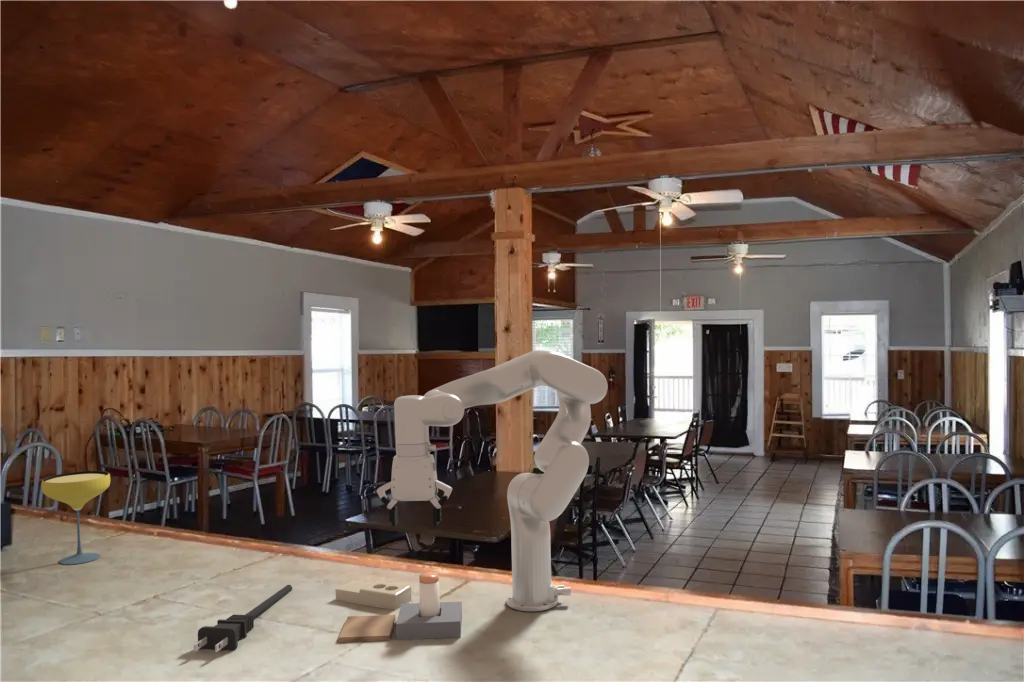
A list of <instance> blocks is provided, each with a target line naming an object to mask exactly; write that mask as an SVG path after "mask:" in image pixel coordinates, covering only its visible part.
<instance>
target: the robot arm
mask: <svg viewBox="0 0 1024 682" xmlns="http://www.w3.org/2000/svg"><path fill="white" fill-rule="evenodd" d="M540 386H543V387H549V388H551V389H554V390H555V391H556V393H557V397H558V398H557V399H558V402H559V403H558V404H559V407H558V412H557V414H556V417H555V419H554V421H553V422H552V424H551V426H550V428H549V429H548V431H547V432H546V434H545V435H544V437H543V439H542V440H541V442H540V443H539V445H538V446H537V448H536V450H535V452H534V457H533V459H534V464H535V466H536V467H537V468H538V470H540V471H541V472H543V474H542V475H538V474H536V473H532V472H522V473H519V474H517V475H516V476H514V477H513V478H512V480H510V483H509V484H508V487H507V491H506V492H507V493H506V499H507V506H508V511H509V519H510V531H511V532H510V534H511V538H510V539H511V578H512V585H511V587H512V592H511V593H509V594H508V595H507V597H506V604H507V606H508V607H509V608H511V609H514V610H517V611H520V612H521V611H522V612H542V611H546V610H550V609H553V608H554V607H556V606H557V604H558V603H559V596H566V597H567V596H571V595H572V594H571V593H572V592H571V590H572V589H571V586H569V587H568V586H567V587H566V586H565V585H564V584H562V585H561V584H559V585H555V584H554V583H553V580H552V560H551V557H552V556H551V553H552V552H551V550H552V549H551V527H550V522H551V521H554V520H555V519H557V518H559V516H560V515H562V514H563V512H564V511H565V510H566V508H568V505H569V504H570V502H571V500H572V499H573V498H574V495H575V493H577V490H578V489H579V487H580V485H581V484H582V482H583V481H584V479H585V477H586V476H587V472H588V469H589V465H590V457H589V454H588V450H587V449H586V448H585V446H583V445H582V442H583V441H584V439H585V437H586V435H587V434H588V431H589V429H590V426H591V421H592V412H591V411H592V410H591V405H594V404H597V403H599V402H601V401H602V400H603V399H604V398H605V397H606V395H607V393H608V388H609V386H608V381H607V379H606V376H605V375H604V374H603V373H602V372H601V371H600V370H598V369H597V368H594V367H592V366H590V365H587V364H585V363H583V362H580V361H578V360H576V359H574V358H571V357H570V356H568V355H567V356H566V355H565V354H562V353H560V352H557V351H554V350H540V349H539V350H538V349H537V350H531V351H529V352H527V353H524V354H522V355H519V356H517V357H515V358H512V359H510V360H508V361H505V362H502V363H499V364H498V365H496V366H494V367H491V368H488V369H486V370H481V371H478V372H476V373H473V374H471V375H467V376H464V377H461V378H457V379H455V380H451V381H449V382H447V383H444V384H442V385H440V386H438V387H435V388H433V389H431V390H428V391H427V392H426V393H425V394H424V395H416V394H414V395H412V394H411V395H401V396H398V397H397V398H395V400H394V406H393V408H394V410H393V411H394V429H395V430H394V431H395V432H394V434H395V435H394V436H395V453H396V454H395V455H394V457H393V458H392V459H393V460H392V466H391V478H390V479H391V481H389V482H387V483H385V484H383V485H382V486H380V487H378V488H377V489H376V494H377V495H378V497H379V499H380V501H381V502H382V503H383V504H384V505H385V506H386V509H388V511H389V512H388V514H389V522H390V523H391V527H392V528H393V527H396V526H397V525H398V524H399V511H398V506H397V504H398V502H418V501H419V502H423V501H424V502H428V501H429V502H430V503H431V505H433V506H434V508H432V511H433V512H432V515H433V526H434V527H437V526H438V525H439V524H440V522H442V518H443V517H442V507H443V505H444V504H445V503H446V502H447V501H448V499H449V497H450V495H451V493H452V491H453V487H452V486H450V485H448V484H446V483H444V482H443V481H440V480H438V474H437V473H438V472H437V467H436V461H435V457H434V454H431V452H434V451H435V452H436V448H437V447H436V444H433V443H431V441H430V438H429V437H430V433H429V432H430V431H429V428H430V427H452V426H454V425H457V424H458V423H459V422H461V420H462V419H463V417H464V415H465V409H468V408H471V407H476V406H483V405H484V406H486V405H495V404H500V403H504V402H506V401H509V400H511V399H513V398H515V397H517V396H520V395H522V394H525V393H526V392H528V391H530V390H533V389H536V388H538V387H540ZM389 489H390V492H391V498H392V499H391V498H390V497H389V496H387V494H386V491H388V490H389ZM439 490H441V491H443V492H444V494H443V496H442V497H441V498H440V497H439V496H438V493H439Z"/></svg>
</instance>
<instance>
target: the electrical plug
mask: <svg viewBox="0 0 1024 682" xmlns="http://www.w3.org/2000/svg"><path fill="white" fill-rule="evenodd" d="M292 590H293V586H292V585H291V584H287V585H284V586H283V587H282V588H281V589H280V590H277V592H275V593H274V594H273V595H271V596H270V597H268V598H266V600H264V601H263V602H261V603H259V604H258V605H257V606H255V607H254V608H252V609H251V610H250V611H248V612H246V614H232V615H230V616H229V617H228V618H226V619H218V620H216V621H217V623H216V624H215V625H213V626H209V625H207V626H201V627H200V628H199V629H198V630H197V642H196V643H194V644H193V652H197V651H198V650H213V651H214V653H218V652H219V651H233V652H234V651H235V650H237V648H238V641H239V640H240V639H246V638H247V637H248V633H249V632H250V631H251V630H253V629H254V627H255V626H254V625H255V624H254V621H255V620H254V619H255V618H256V617H258V616H259V615H260V614H261V613H263V612H265V611H266V610H267V609H268V608H269V607H271V606H272V605H274V604H275V603H277V602H278V601H279V600H280V599H282V598H284V597H285V596H286V595H287V594H289V593H290V592H292Z"/></svg>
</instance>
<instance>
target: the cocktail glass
mask: <svg viewBox="0 0 1024 682" xmlns="http://www.w3.org/2000/svg"><path fill="white" fill-rule="evenodd" d="M110 484H111V474H110V472H108V471H106V470H105V471H103V470H87V471H86V470H83V471H74V472H66V473H59V474H55V475H51V476H48V477H45V478H43V479H42V480H41V492H42V493H43V495H45V496H46V497H48V499H52V500H54V501H58V502H61V503H64V504H66V505H68V506H70V507H71V509H73V510H74V511H76V528H77V548H76V553H75V554H72V555H71V554H70V555H68V556H65V557H62V558H60V560H59V561H58V563H59V564H60V565H64V566H70V565H71V566H72V565H83V564H87V563H90V562H94V561H97V560H98V559H100V557H101V555H100V553H96V552H83V550H82V544H81V528H80V527H81V526H80V511H81V510H82V509H83V507H84V506H85V505H86V504H87V503H88V502H90V501H91V500H92V499H94V498H96V497H97V496H99V495H101V494H103V493H104V492H105V491H106V490H107V489H108V488H109V487H110Z"/></svg>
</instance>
